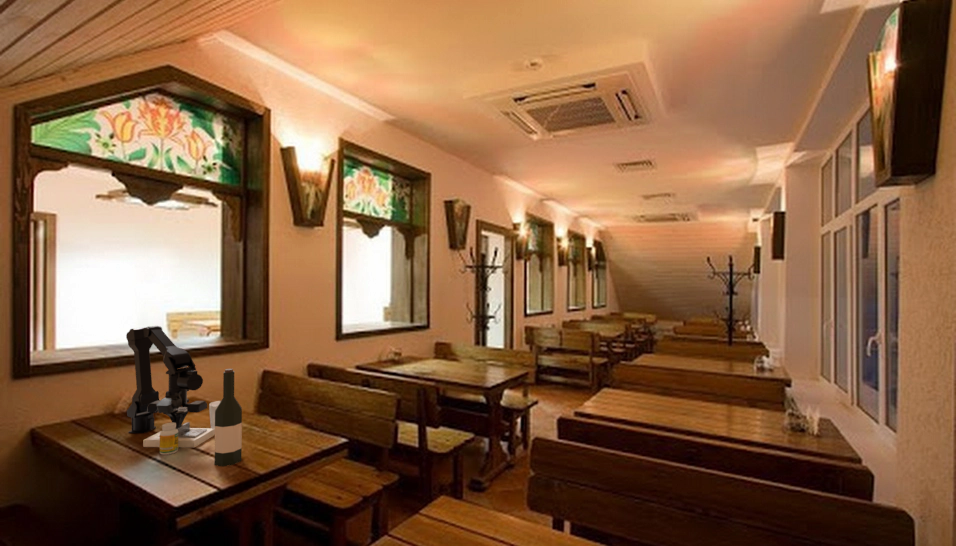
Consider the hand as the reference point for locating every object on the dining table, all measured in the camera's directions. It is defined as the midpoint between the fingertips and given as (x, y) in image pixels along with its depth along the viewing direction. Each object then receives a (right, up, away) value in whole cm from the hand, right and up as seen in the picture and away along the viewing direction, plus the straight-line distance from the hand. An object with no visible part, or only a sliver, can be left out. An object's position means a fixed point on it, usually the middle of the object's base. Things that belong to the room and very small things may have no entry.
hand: (177, 429), depth 174 cm
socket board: (+1, -4, 0) cm, 4 cm away
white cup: (+8, -4, +14) cm, 17 cm away
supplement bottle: (+4, -4, -11) cm, 12 cm away
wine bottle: (+28, -5, -18) cm, 34 cm away
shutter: (+5, -1, 0) cm, 5 cm away
